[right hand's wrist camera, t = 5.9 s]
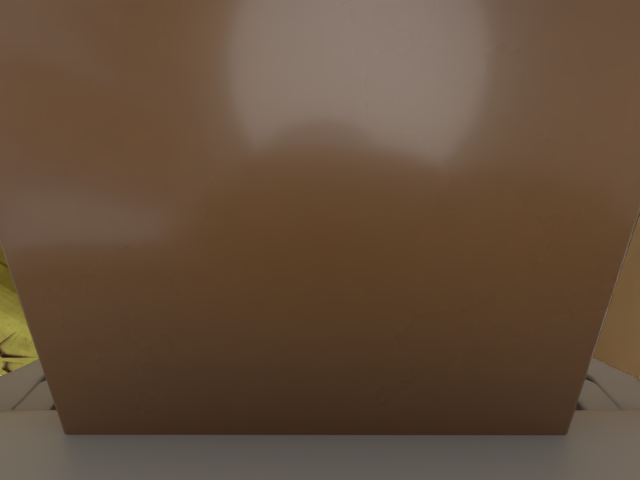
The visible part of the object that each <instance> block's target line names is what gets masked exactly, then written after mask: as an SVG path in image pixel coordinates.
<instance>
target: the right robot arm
mask: <svg viewBox="0 0 640 480" xmlns="http://www.w3.org/2000/svg"><path fill="white" fill-rule="evenodd" d="M0 480H640V381H639V380H638V379H637V378H636V377H634V376H632V375H629V374H627V373H625V372H623V371H621V370H619V369H616V368H614V367H612V366H610V365H608V364H606V363H603V362H601V361H599V360H597V359H595V358H593V357H592V360H591V363H590V366H589V369H588V372H587V375H586V378H585V381H584V384H583V387H582V390H581V394H580V397H579V400H578V403H577V406H576V409H575V412H574V415H573V418H572V421H571V424H570V427H569V430H568V433H567V434H566V435H67V434H64V431H63V428H62V425H61V422H60V419H59V416H58V413H57V410H56V407H55V404H54V401H53V398H52V395H51V392H50V390H49V387H48V384H47V381H46V378H45V375H44V372H43V369H42V366H41V363H40V360H39V359H38V360H36V361H34V362H31V363H29V364H27V365H25V366H23V367H20V368H18V369H16V370H14V371H12V372H9V373H7V374H5V375H3V376H1V377H0Z"/></svg>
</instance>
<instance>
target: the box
mask: <svg viewBox="0 0 640 480" xmlns="http://www.w3.org/2000/svg"><path fill="white" fill-rule="evenodd" d="M639 214H640V0H0V245H1V248H2V251H3V254H4V257H5V260H6V263H7V266H8V269H9V272H10V275H11V278H12V281H13V284H14V287H15V289H16V292H17V295H18V298H19V301H20V304H21V307H22V310H23V313H24V316H25V319H26V322H27V325H28V328H29V331H30V334H31V337H32V339H33V342H34V345H35V348H36V351H37V354H38V357H39V360H40V363H41V366H42V369H43V372H44V375H45V378H46V381H47V384H48V387H49V390H50V392H51V395H52V398H53V401H54V404H55V407H56V410H57V413H58V416H59V419H60V422H61V425H62V428H63V431H64V434H67V435H566V434H567V433H568V430H569V427H570V424H571V421H572V418H573V415H574V412H575V409H576V406H577V403H578V400H579V397H580V394H581V390H582V387H583V384H584V381H585V378H586V375H587V372H588V369H589V366H590V363H591V360H592V357H593V354H594V351H595V348H596V345H597V342H598V339H599V336H600V333H601V330H602V326H603V323H604V320H605V317H606V314H607V311H608V308H609V305H610V302H611V299H612V296H613V293H614V290H615V287H616V284H617V281H618V278H619V275H620V272H621V269H622V266H623V262H624V259H625V256H626V253H627V250H628V247H629V244H630V241H631V238H632V235H633V232H634V229H635V226H636V223H637V220H638V217H639Z"/></svg>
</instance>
